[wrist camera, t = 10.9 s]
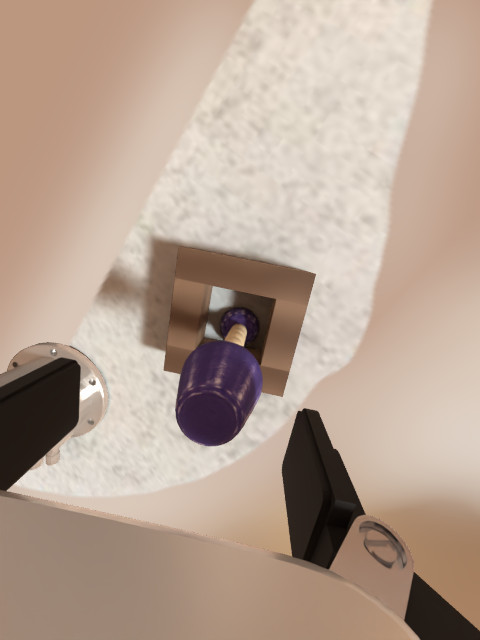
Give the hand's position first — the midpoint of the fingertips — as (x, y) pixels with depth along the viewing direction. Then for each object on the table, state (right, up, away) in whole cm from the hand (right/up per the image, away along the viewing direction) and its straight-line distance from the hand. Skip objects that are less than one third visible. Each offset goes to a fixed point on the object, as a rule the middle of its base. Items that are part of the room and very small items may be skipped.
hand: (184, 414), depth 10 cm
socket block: (+2, +4, +16) cm, 17 cm away
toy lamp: (+2, +4, +16) cm, 17 cm away
